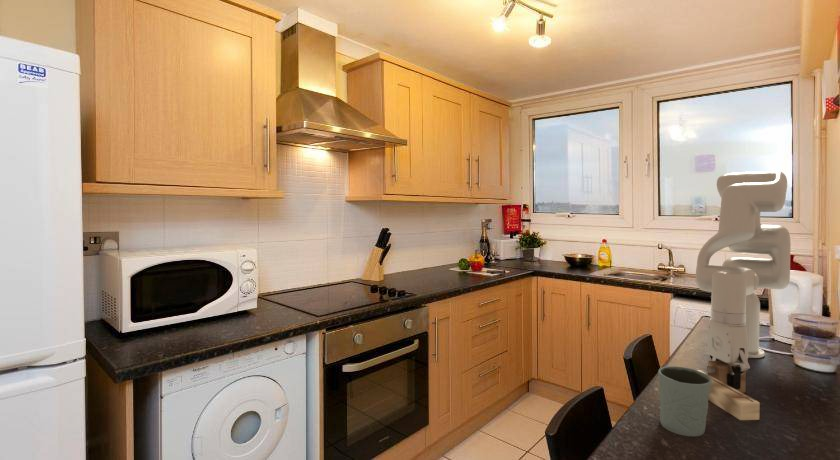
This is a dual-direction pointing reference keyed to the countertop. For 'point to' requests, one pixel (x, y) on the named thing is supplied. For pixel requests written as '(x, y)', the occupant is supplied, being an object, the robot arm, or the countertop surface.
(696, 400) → the green cup
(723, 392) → the guide plank
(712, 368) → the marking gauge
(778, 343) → the countertop surface
